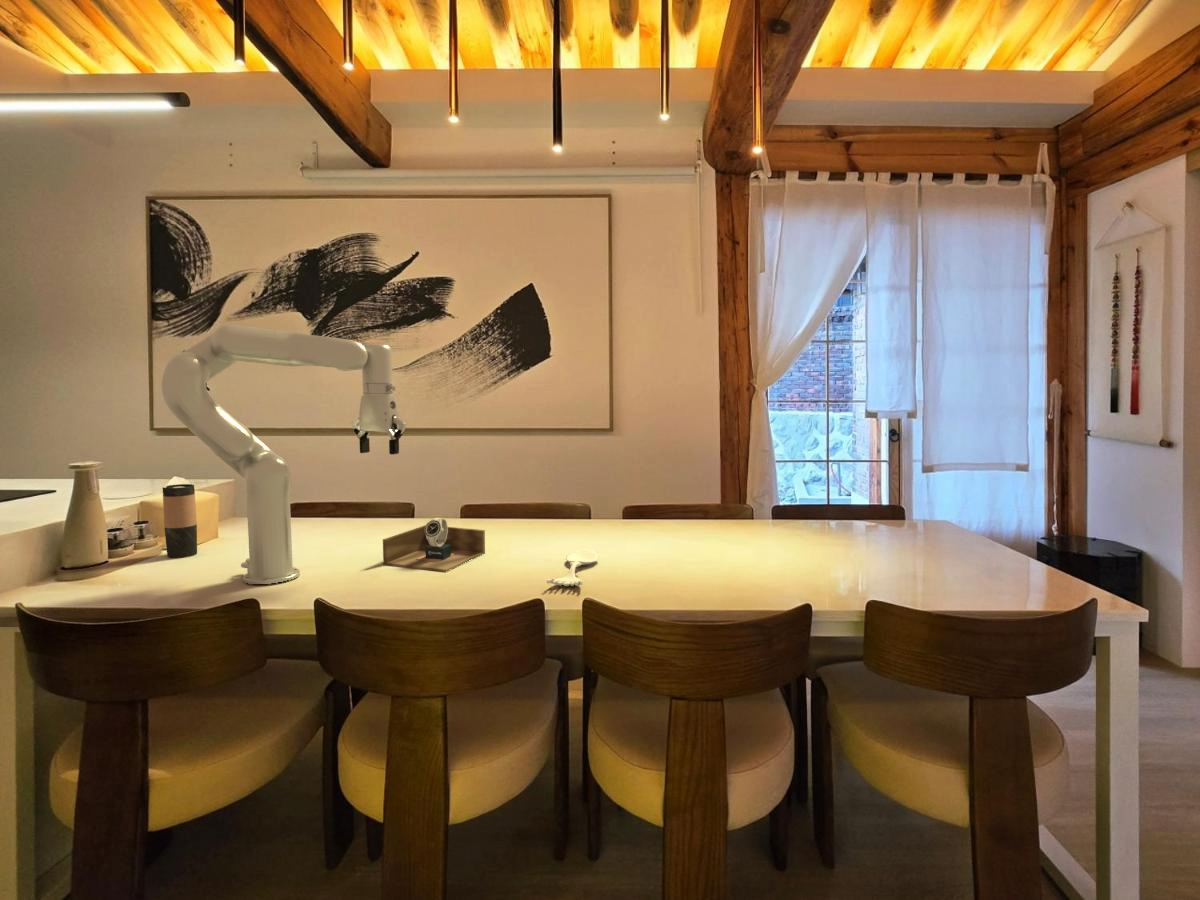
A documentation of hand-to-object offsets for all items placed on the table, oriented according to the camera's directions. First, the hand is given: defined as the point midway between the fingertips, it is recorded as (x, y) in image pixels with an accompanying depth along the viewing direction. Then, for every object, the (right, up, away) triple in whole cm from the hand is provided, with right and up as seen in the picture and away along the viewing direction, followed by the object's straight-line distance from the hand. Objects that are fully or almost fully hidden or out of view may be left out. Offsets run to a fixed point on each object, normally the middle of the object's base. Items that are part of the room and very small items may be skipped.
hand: (379, 453), depth 169 cm
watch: (+15, -29, +5) cm, 33 cm away
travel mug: (-60, -29, +9) cm, 67 cm away
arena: (+14, -30, +6) cm, 34 cm away
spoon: (+54, -32, -7) cm, 63 cm away
